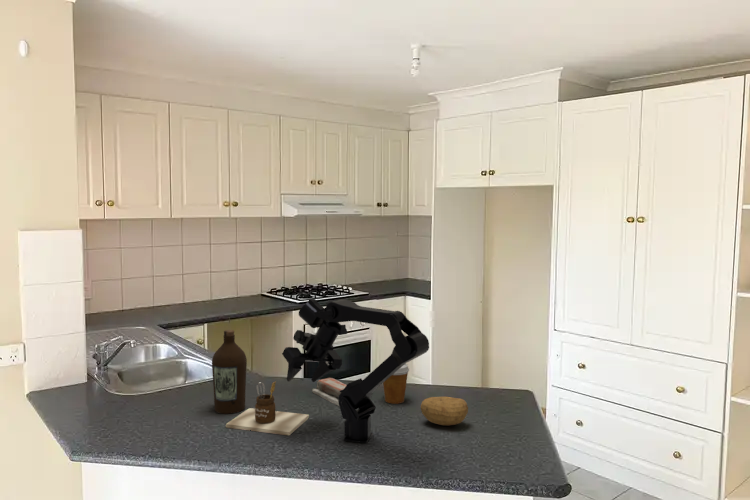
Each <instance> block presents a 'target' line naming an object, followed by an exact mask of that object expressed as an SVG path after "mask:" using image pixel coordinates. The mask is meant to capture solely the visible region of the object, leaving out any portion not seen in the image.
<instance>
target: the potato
mask: <svg viewBox="0 0 750 500" xmlns="http://www.w3.org/2000/svg"><path fill="white" fill-rule="evenodd" d="M420 411H421V414H422V415H423V416H424V418H425V419H426V420H427V421H429V422H430V423H432V424H436V425H439V426H446V427H448V426H454V425H458V424H461V423H462V422H463V421H464V420H465V419H466V417H467V414H468V413H469V407H468V403H467V401H466V400H465V399H463V398H460V397H459V398H457V397H449V396H430V397H427V398H424V399H423V400H422V401H421V404H420Z"/></svg>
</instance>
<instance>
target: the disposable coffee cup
mask: <svg viewBox="0 0 750 500" xmlns="http://www.w3.org/2000/svg"><path fill="white" fill-rule="evenodd" d="M408 365H409V364H407V363H405V364H404V365H403V366H402V367H401V368H400V369H398V370H397V371H396V372H395V373H394V374H393V375H391V376H390V377H389V378H388V379H387V380H386V381H385V382H383V383H382V384H383V394H384V401H385V402H386V403H388V404H392V405H394V404H395V405H396V404H397V405H398V404H402V403H405V396H406V391H407V390H406V389H407V381H408V374H409V372H410V368H409V366H408Z"/></svg>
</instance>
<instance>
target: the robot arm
mask: <svg viewBox="0 0 750 500" xmlns="http://www.w3.org/2000/svg"><path fill="white" fill-rule="evenodd" d="M298 316H299V318H301V319H302V320H303V321H304V322H305V323H306V324H307V325H308V326H310V327H311V328H312V329H316V328H318V329H317V331H316V333H315V334H314V333H310V332H305V331H303V330H301V329H300V330H299V329H296V331H295V333H294V335H293V338H292V339H293V341H294V342H296V344H300V345H301V346H302V347H301V348H302V349H303V351H305V352H301V350H300V349H299V347H293V346H292V347H291V346H287V347H284V349H283V352H282V353H281V354H282V357H283V358H284V359H285V361H286V362H287V365H288V367H287V376H286V381H287V382H290V383H291V381H292V380H293V379H294V378H295V377H296V376H297V375H298V374H299V373H300V371H301V370H302V369H303V368H302V367H303V366H304V365H305V362H317V363H318V365H317V367H316V369H315V371H314V373H313V374H312V376H311V382H312V383H314V382H317V381H318V380H321V378H323V377H325V376H326V375H328V374H329V373H331V372H333V371H336V370H340V368H341V366H342V365H343V359H342V358H341V357H340V354H338V353H337V351H336V350H334V349H335V346H333V345H334V343H335V341H336V339H337V337H338V336H343V335H347V334H348V329H347V328H346V327H347V326H346V324H341V323H345V322H358V323H364V324H371V325H376V326H383V327H386V329H388V332H389V335H390V337H391V341H392V342H393V343H394V347H393V349H392V352H391V353H390V355H389V356H388V357H387V358H386V359H385V360H384V361H382V362H381V363H380V364H379V365H378V366H377V367H376V368H374V369H373V370H372V371H371V372H369V374H368V375H367V376H366V377H364V378H363V379H362V378H358V379H356V380H353V381H351V382H348V383H347V384H346V387H345V388H344V389H343V390H340V392H341V393H340V394H339V396H338V402H339V406H338V407H339V410H340V412H341V417H342V419H343V420H345V421H344V422H343V423H344V429H343V430H344V433H343V435H344V438H343V440H344V441H345V442H353V443H361V444H362V443H363V444H367V443H368V441H370V439H371V438H372V437H373V432H372V430H371V429H372V414H373V415H374V414H375V412H376V405H375V404H374V402H373V401H372V400H371V399H372V396H373V394H374V393H373V392H375V390H377V389H378V388H379V387H380V386H382V384H383V382H385V381H386V380H387V379H388V378H389V377H390V376H391V375H393V374H394V373H395V372H396V371H397V370H398V369H400V368H401V367H402V366H403V365H404V364H405V363H406V364H407V363H409V362H412V361H413V360H416V358H418V357H420V356H422V355H424V354H425V353H427V352H428V351H429V349H430V342H429V339H428V337H427V336H426V335H425V334H424V333H423V332H422V331H421V330H420V329H419V327H418V326H417V325H416V324H415V323H413V322H412V321H411V320H410V319H409V318H407V316H406V315H405V314H404V313H403V312H402V311H400V310H390V309H380V308H374V307H368V306H361V305H359V304H357V303H356V302H354V301H351V300H349V299H339V300H333V301H329V302H327V304H326V306H325V307H323V306H322V305H321V304H320V303H319V302H318V300H316V299H315V298H310V299H309V300H308V301H307V302H306V303H305V304H303V306H302V307H301V308H299V311H298ZM402 331H403V332H402ZM404 333H405V334H406V335H405V334H404Z"/></svg>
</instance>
